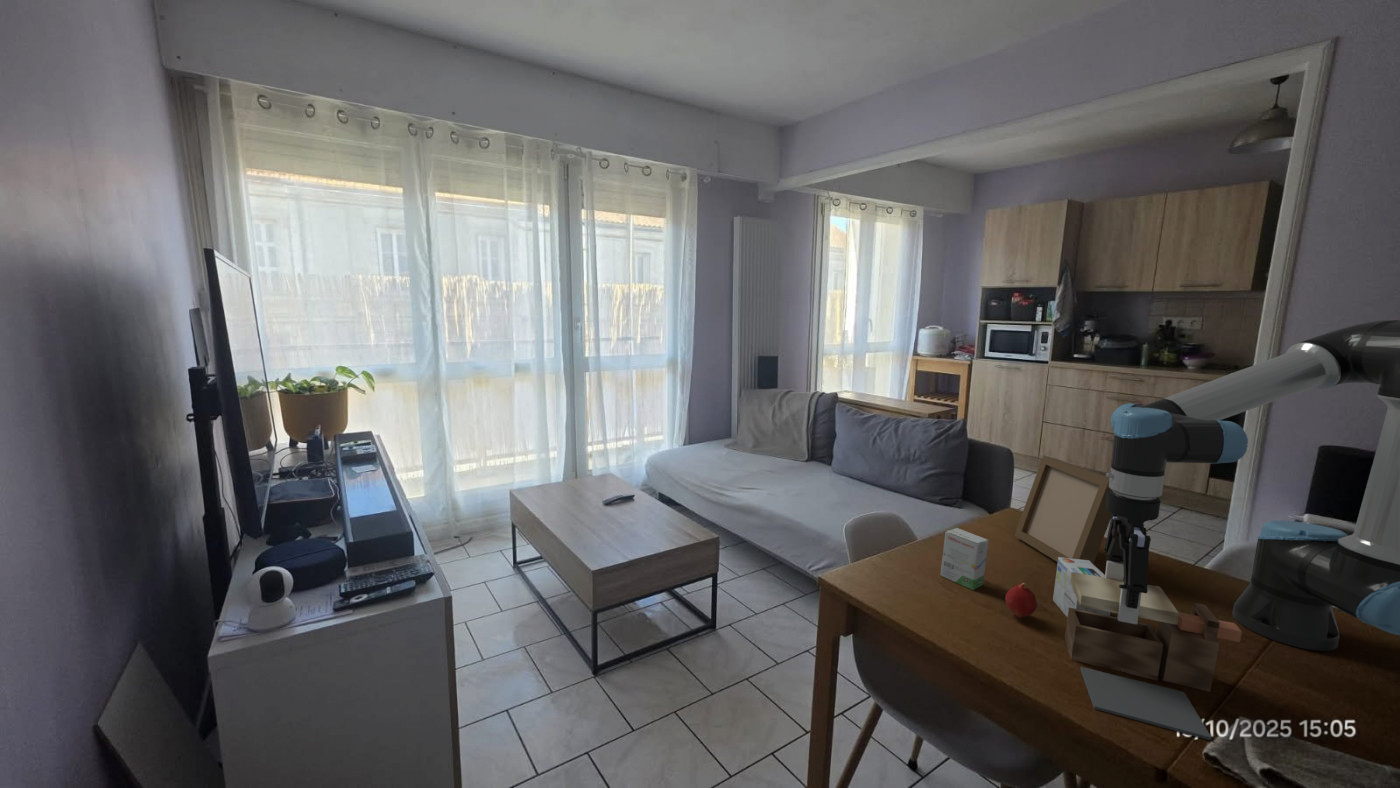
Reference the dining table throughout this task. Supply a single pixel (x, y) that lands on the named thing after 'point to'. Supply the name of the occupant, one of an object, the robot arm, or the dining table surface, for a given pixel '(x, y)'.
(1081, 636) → the wooden box
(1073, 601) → the light bulb box
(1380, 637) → the dining table surface
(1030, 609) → the onion
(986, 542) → the ink box
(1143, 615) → the lid
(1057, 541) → the photo frame
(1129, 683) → the mat
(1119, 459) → the robot arm
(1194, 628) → the orange rectangular block
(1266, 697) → the dining table surface
